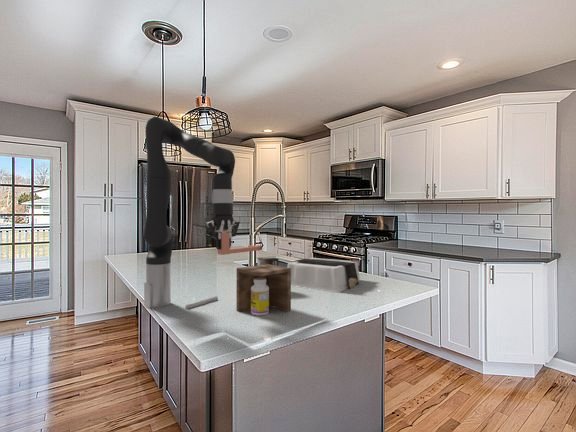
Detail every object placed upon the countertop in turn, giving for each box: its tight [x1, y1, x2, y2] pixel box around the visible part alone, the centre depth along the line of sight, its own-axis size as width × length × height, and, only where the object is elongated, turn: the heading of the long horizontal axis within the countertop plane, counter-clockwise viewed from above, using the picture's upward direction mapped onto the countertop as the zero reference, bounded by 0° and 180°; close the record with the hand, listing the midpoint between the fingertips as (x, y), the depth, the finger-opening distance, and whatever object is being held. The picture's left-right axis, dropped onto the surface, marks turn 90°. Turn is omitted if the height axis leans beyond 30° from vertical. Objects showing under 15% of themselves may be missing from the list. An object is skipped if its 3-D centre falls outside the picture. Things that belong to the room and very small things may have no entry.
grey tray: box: [286, 257, 361, 294], centre depth 170 cm, size 35×33×12 cm
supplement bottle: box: [250, 278, 270, 317], centre depth 120 cm, size 7×7×13 cm
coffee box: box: [257, 256, 280, 266], centre depth 154 cm, size 9×6×16 cm
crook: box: [216, 231, 263, 256], centre depth 128 cm, size 19×8×8 cm, turn 134°
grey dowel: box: [184, 295, 219, 310], centre depth 133 cm, size 16×2×2 cm, turn 148°
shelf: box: [236, 264, 292, 313], centre depth 123 cm, size 15×14×16 cm
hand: (223, 248), depth 121 cm, fingers closed on crook, 3 cm apart
